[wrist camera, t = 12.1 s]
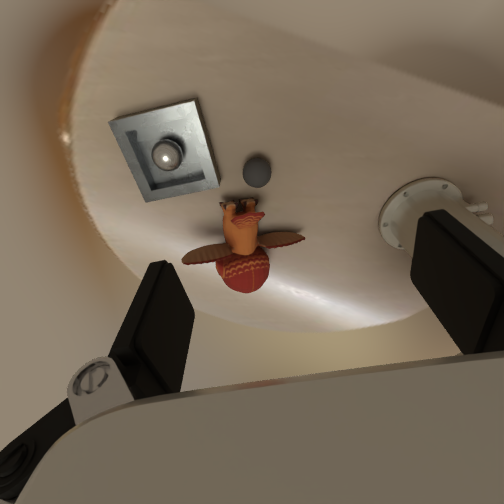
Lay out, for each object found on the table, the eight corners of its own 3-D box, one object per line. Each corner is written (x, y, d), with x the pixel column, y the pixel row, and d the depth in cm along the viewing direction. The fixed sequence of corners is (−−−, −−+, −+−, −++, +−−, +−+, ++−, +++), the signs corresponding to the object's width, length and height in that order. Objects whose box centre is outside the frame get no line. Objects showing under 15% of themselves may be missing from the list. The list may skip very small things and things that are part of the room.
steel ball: (180, 133, 38) (171, 141, 35) (190, 162, 40) (182, 172, 37) (152, 139, 39) (141, 147, 35) (163, 167, 41) (154, 178, 38)
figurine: (167, 205, 43) (183, 292, 49) (176, 219, 35) (193, 319, 41) (284, 188, 49) (286, 267, 55) (312, 196, 42) (311, 287, 47)
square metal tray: (197, 97, 36) (194, 100, 34) (220, 179, 42) (219, 187, 40) (116, 117, 37) (108, 122, 35) (151, 193, 44) (145, 202, 41)
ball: (267, 151, 40) (269, 160, 37) (272, 178, 43) (274, 189, 39) (240, 157, 41) (239, 167, 37) (246, 183, 43) (246, 194, 40)
